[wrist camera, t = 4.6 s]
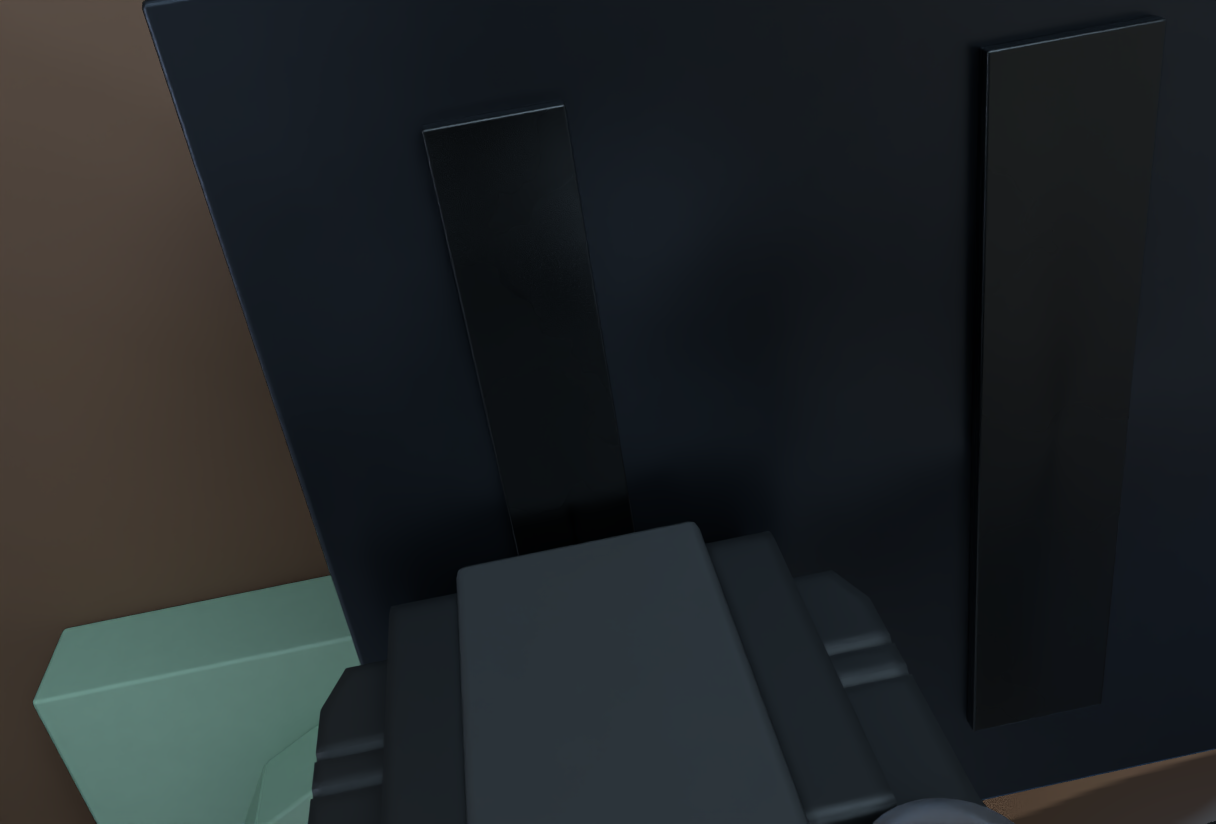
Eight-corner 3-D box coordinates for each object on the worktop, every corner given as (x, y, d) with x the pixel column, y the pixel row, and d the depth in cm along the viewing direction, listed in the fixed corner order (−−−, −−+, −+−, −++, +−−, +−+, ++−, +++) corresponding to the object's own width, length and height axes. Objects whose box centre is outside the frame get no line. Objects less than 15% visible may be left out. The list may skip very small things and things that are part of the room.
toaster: (428, 499, 23) (431, 947, 14) (262, -119, 17) (95, -18, 8) (1115, 362, 24) (1528, 707, 15) (1170, -273, 18) (1886, -328, 9)
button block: (216, 938, 28) (187, 1101, 25) (62, 627, 23) (-2, 775, 20) (692, 835, 29) (729, 979, 25) (641, 510, 24) (678, 634, 20)
